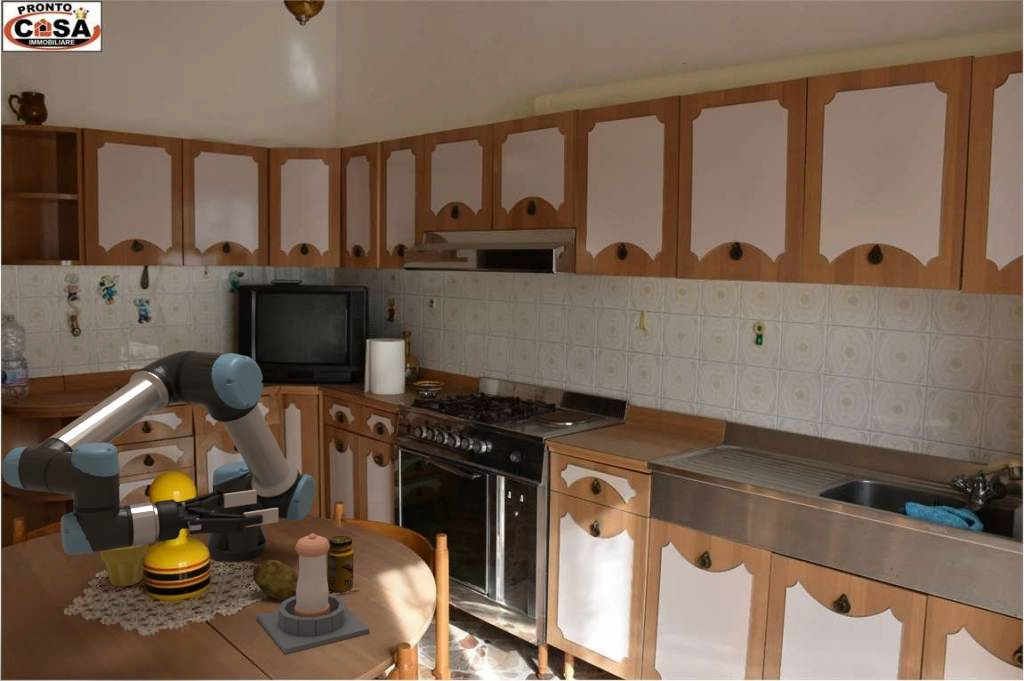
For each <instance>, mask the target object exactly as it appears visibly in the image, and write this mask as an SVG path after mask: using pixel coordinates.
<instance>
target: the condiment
mask: <svg viewBox="0 0 1024 681" xmlns="http://www.w3.org/2000/svg"><path fill="white" fill-rule="evenodd" d="M328 542H329V545H330V547H329V550H328V552H327V553H326V562H327V563H326V565H327V566H326V576H327V583H328V590H329V591H331V592H334V593H345V592H347V591H350V590H351V589H352V588H353V585H354V555H355V554H354V549H353V539H352V538H351V537H350V536H347V535H337V536H333V537H331V538H330V539H329V541H328ZM345 594H348V592H347V593H345ZM332 595H335V594H332ZM338 595H340V594H337V595H336V596H338Z"/></svg>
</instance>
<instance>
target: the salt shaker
mask: <svg viewBox="0 0 1024 681" xmlns="http://www.w3.org/2000/svg"><path fill="white" fill-rule="evenodd" d="M329 547H330V545H329V541H328V539H327V538H326V537H323V536H321V535H317V534H316V533H310V534H309V535H306V536H304V537H302V538H299V539H298V541H297V542H296V544H295V547H294V549H295V552H296V553H297V555H298V573H299V576H298V582H297V588H296V605H295V608H294V615H295V616H298V617H319V616H323V615H327V614H330V605H329V603H328V583H327V566H326V565H327V563H326V562H327V552H328V550H329Z"/></svg>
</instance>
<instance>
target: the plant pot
mask: <svg viewBox="0 0 1024 681" xmlns="http://www.w3.org/2000/svg"><path fill="white" fill-rule="evenodd" d="M149 547H150V543H147V544H141V547H136V545H135V546H129V547H123V548H117V549H111V550H106V551H100V558H101V560H102V561H103V562H104V564H105V568H106V571H107V575H108V579H109V583H110V584H111V585H112V586H114V587H120V588H123V587H130V586H134V585H136V584H138V583H140V582H141V580H142V578H143V571H144V568H143V558H144V556H145V554H146V552H147V551H148V550H150V548H149Z"/></svg>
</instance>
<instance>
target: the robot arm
mask: <svg viewBox="0 0 1024 681" xmlns="http://www.w3.org/2000/svg"><path fill="white" fill-rule="evenodd" d="M263 380H264V378H263V374H262V370H261V368H260V366H259V365H258V363H257V362H256V361H255V360H254V359H253V358H251V357H250V356H247V355H241V354H238V353H232V352H228V353H227V352H226V353H224V352H209V351H195V350H183V351H178V352H174V353H172V354H171V353H170V354H168V355H166V356H163V357H161V358H159V359H157V360H155V361H153V362H152V361H151V363H148V364H147V365H146V366H144V367H143V368H141V369H139V370H138V371H136V372H135V373H133V374H132V375H131V377H129V381H128V383H127V384H126V385H124V386H123V387H121V388H119V390H117V391H116V392H114V393H113V394H111V395H110V396H108V397H107V398H105V399H104V400H102V401H101V402H99V403H97V405H95V406H94V407H92V408H91V409H89V410H88V411H86V412H85V413H83V414H82V415H80V416H79V417H78V418H76V419H75V420H73V421H72V422H70V423H69V424H67V425H66V426H64V427H63V428H62V429H60V430H58V431H57V432H56V433H54V434H53V435H52V436H50V437H49V438H47V439H45V441H42V442H41V443H39V444H37V445H36V446H35V447H32V446H20V447H15V448H13V449H12V450H10V451H9V452H8V453H7V455H6V456H5V458H4V459H3V461H2V464H1V465H2V467H1V473H2V474H1V475H2V478H3V480H4V481H5V482H6V484H8V485H9V486H11V487H13V488H18V489H22V490H25V491H34V492H44V493H53V494H61V495H66V496H67V495H68V496H72V499H73V504H72V505H73V508H72V510H73V511H70V512H69V513H65V514H63V515H62V517H61V519H60V538H61V545H62V549H63V551H64V553H65V554H66V555H69V556H75V555H86V554H95V553H99V552H100V553H101V551H106V550H111V549H117V548H123V547H129V546H135V545H136V547H141V544H147V543H149V544H153V543H154V542H155V541H157V542H159V543H161V542H166V541H173V540H176V539H178V538H179V536H180V535H181V534H180V532H181V530H187V529H188V530H189V534H188V535H193V536H194V535H199V534H208V538H207V541H206V545H205V547H206V546H207V547H208V549H209V552H210V555H211V558H210V559H211V560H215V561H219V562H239V561H246V560H247V561H248V560H252V559H255V558H258V557H261V556H262V555H263V554H265V553H266V552H267V551H268V539H267V536H266V533H265V530H264V528H263V525H269V524H270V525H271V524H275V523H279V520H285V521H287V522H289V521H296V522H297V521H301V520H303V519H304V518H306V516H307V515H308V514H309V512H310V511H311V508H312V506H313V503H314V500H315V495H316V482H315V479H314V478H313V477H314V476H312V475H309V474H307V473H304V474H302V473H300V472H299V469H298V468H297V465H296V464H295V463H294V462H293V461H291V460H290V459H287V458H285V456H284V454H283V452H282V450H281V447H280V446H279V444H278V442H277V440H276V438H275V436H274V434H273V432H272V431H271V428H270V427H269V424H268V423H267V420H266V419H265V416H264V415H263V413H262V411H261V409H260V406H259V405H258V404H259V402H260V399H261V396H262V394H263V388H264V383H262V381H263ZM179 403H180V404H181V403H184V404H193V405H201V406H202V405H203V406H204V407H205V408H206V411H207V412H208V414H209V416H210V417H211V418H212V419H213V420H214V421H216V422H219V423H222V424H223V426H224V428H225V430H226V431H227V434H228V435H229V437H230V438H231V440H232V442H233V443H234V446H235V448H236V449H237V451H238V452H239V454H240V456H241V458H242V459H243V461H237V462H231V463H227V464H224V465H221V466H219V467H217V468H216V469H215V470H214V471H213V474H212V484H211V487H212V491H211V492H209V493H205V494H203V495H198V496H195V497H192V498H191V497H190V498H189V499H185V500H181V501H176V500H175V499H166V500H165V499H164V500H158V501H155V502H154V503H152V502H150V501H149V502H148V501H147V502H143V503H142V502H141V503H140V502H139V503H135V504H134V503H133V504H129V505H123V506H122V505H121V504H120V502H121V501H120V500H121V498H120V469H121V468H120V467H121V466H120V464H119V454H118V452H119V450H118V448H117V447H116V446H115V445H114V444H112V443H111V442H112V441H113V440H116V438H118V437H119V436H120V435H122V434H123V433H125V432H126V431H127V430H128V429H130V428H132V427H133V426H135V425H136V424H137V423H138V422H140V421H141V420H142V419H143V418H145V417H146V416H147V415H149V414H150V413H151V412H159V411H161V410H164V409H165V408H166V407H168V406H169V405H172V404H179ZM120 505H121V506H120Z"/></svg>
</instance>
